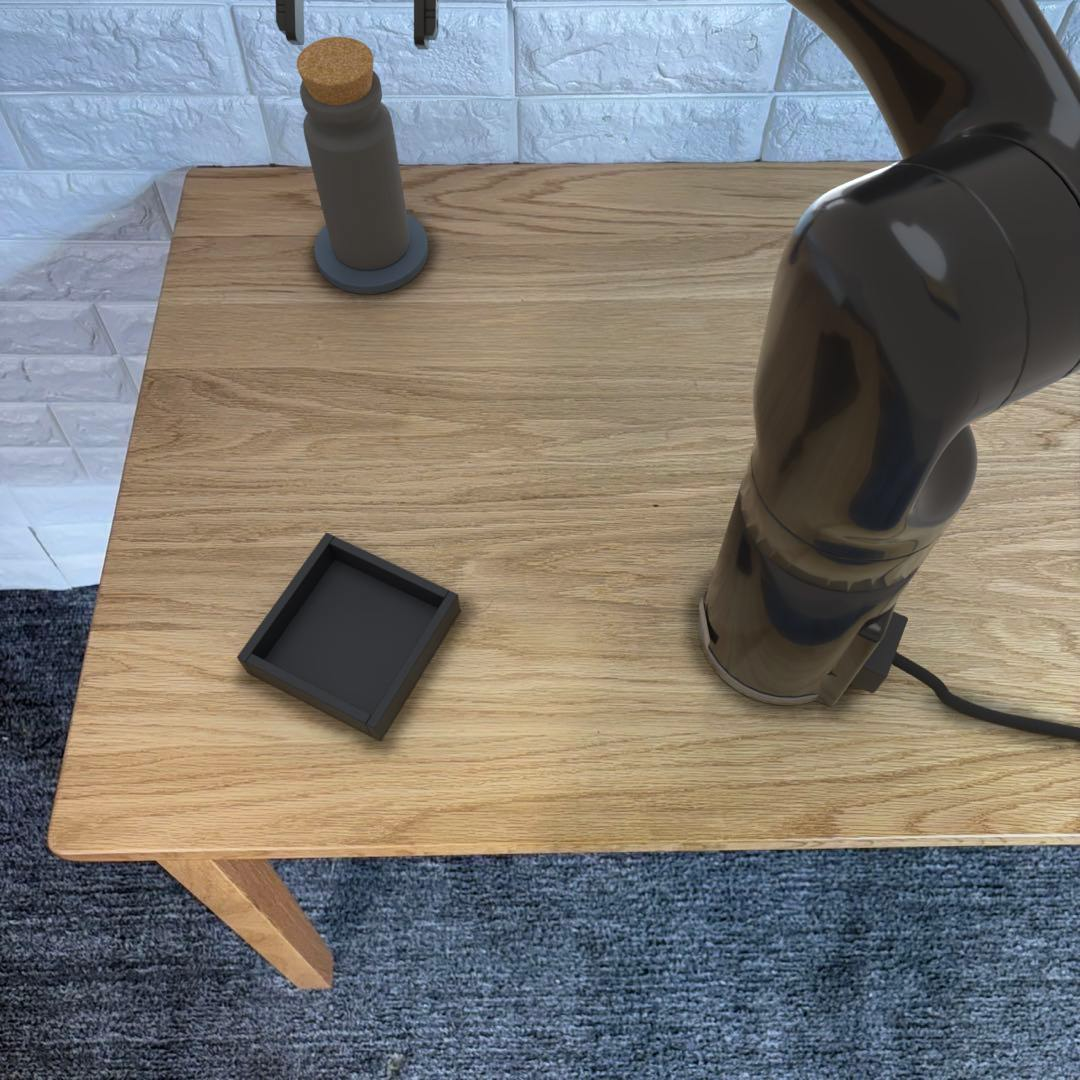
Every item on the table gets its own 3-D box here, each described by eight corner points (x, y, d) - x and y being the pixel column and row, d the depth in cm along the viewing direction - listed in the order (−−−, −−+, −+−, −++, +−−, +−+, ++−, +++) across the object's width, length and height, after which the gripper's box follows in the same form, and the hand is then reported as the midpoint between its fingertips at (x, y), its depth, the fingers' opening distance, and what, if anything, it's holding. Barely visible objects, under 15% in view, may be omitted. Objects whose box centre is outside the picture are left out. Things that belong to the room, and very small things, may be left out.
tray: (461, 611, 60) (458, 593, 58) (380, 742, 56) (374, 728, 54) (333, 550, 62) (326, 531, 60) (246, 672, 58) (236, 657, 56)
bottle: (398, 276, 73) (366, 95, 60) (321, 265, 73) (273, 83, 60) (419, 220, 76) (393, 35, 63) (345, 210, 76) (304, 24, 63)
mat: (448, 235, 76) (447, 227, 75) (391, 309, 72) (389, 301, 72) (355, 199, 78) (353, 191, 77) (294, 270, 74) (292, 262, 74)
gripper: (222, -272, 59) (234, 29, 64) (461, -267, 59) (457, 36, 63) (261, -213, 67) (270, 53, 71) (475, -208, 66) (470, 60, 70)
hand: (358, 45), depth 67 cm, fingers open, 8 cm apart
